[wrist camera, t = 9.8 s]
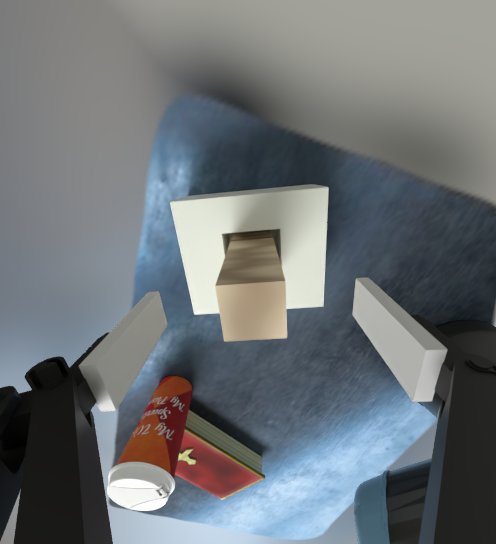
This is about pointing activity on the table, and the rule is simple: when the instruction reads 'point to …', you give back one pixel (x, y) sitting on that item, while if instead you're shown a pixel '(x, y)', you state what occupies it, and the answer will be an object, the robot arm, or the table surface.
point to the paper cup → (153, 449)
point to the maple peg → (252, 289)
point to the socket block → (253, 217)
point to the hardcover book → (216, 459)
